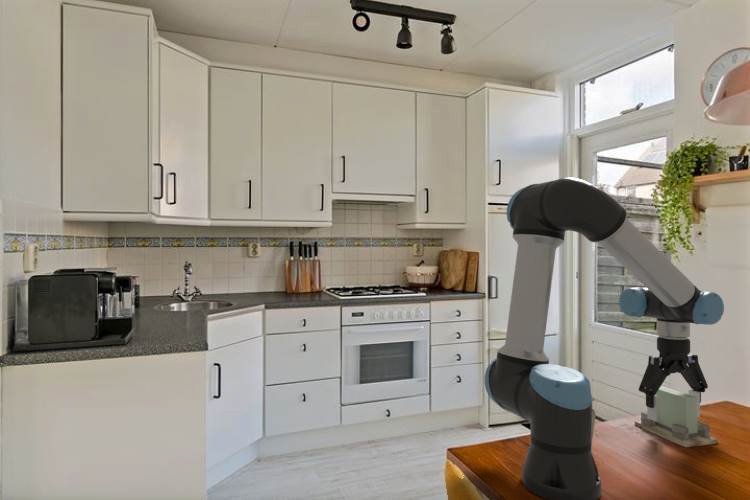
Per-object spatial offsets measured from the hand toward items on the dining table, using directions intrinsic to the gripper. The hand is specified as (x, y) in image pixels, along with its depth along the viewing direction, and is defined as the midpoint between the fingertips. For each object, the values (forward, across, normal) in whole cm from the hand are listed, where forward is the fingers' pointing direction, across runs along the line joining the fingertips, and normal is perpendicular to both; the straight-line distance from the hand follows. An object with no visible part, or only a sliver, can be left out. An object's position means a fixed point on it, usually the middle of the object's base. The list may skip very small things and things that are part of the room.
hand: (673, 417), depth 126 cm
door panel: (+3, 0, 0) cm, 3 cm away
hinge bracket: (+4, 0, 0) cm, 4 cm away
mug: (+4, -33, -5) cm, 34 cm away
